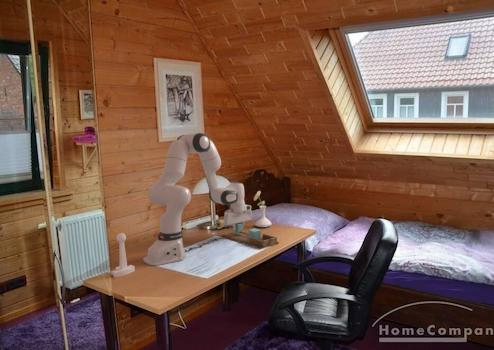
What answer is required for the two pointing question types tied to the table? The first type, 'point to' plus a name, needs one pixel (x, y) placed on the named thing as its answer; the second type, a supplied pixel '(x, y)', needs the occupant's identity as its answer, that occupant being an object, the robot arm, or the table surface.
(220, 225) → the scroll
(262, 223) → the flower in vase
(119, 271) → the joystick
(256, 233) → the block with cord
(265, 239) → the lane board
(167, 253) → the robot arm
